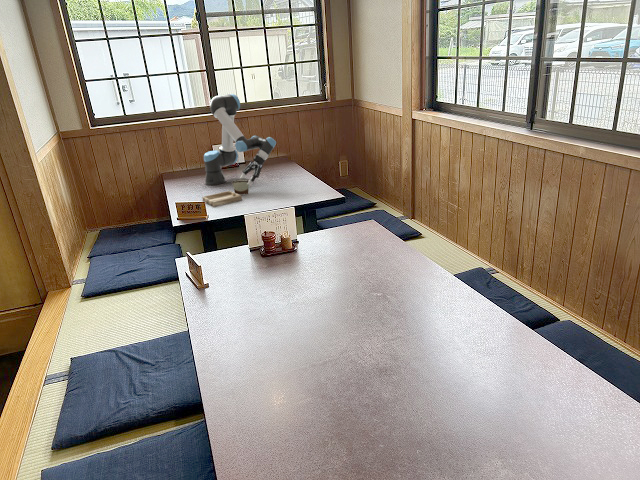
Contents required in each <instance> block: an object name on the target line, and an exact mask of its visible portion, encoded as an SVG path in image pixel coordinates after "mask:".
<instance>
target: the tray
mask: <svg viewBox="0 0 640 480" xmlns="http://www.w3.org/2000/svg"><path fill="white" fill-rule="evenodd" d="M242 197H243V196H242V195H239V194H236V193H235V192H234V191H231V190H227V191H223V192H217V193H214V194H209V195H205V196H202V197H201V198H202V202H203V201H205V202H206V203H205V202H204V203H205V204H208V205H209V206H211V207H213V208H215V207H219V206H223V205H226V204H227V205H228V204H232V203H235V202H239V201H242V200H243V198H242Z"/></svg>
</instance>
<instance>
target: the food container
mask: <svg viewBox="0 0 640 480" xmlns="http://www.w3.org/2000/svg"><path fill="white" fill-rule="evenodd" d="M239 178H240V177H239ZM239 178H235V179H233V180H231V184H232V187H233V192H234V193H236V194H239V195H241V196H242V195H243V194H245V195H249V191H250V190H249V189H250V186H249V185H248V184H247V183H248V182H249V180H250V179H248V178H247V177H245V178H240V179H239ZM243 196H244V195H243Z"/></svg>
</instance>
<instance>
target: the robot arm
mask: <svg viewBox="0 0 640 480" xmlns="http://www.w3.org/2000/svg"><path fill="white" fill-rule="evenodd" d="M240 109H241V101H240V98H239V97H238V96H237V95H236V94H233V93H227V94H222V95H215V96H213V97H212V98H211V100H210V102H209V110H210V113H211V114H212V116H213V117H214V118H215V119H217V120H218V121H219V123H220V124H221V146H219V150H210V151H209V150H208V151H207V152H205V153H204V155H203V161H204V169H205V178H204V184H205V185H208V186H216V185H220V184H224V183H226V178H225V175H224V173H223V171H222V168H224V167H227V166H232V165H234V164H236V163H237V161H238V159H239V153H243V152H248V151H251V150H257V149H258V151H257V153H256V154H255V156H254V157H253V161H250V162H249V164H247V165H246V166H245V168H243V170H241V171H242V174H241V176H240V177H239V178H238V179H240V178H247V177H246V176H247V174H249V173H250V172H252V171H253V174H252V176H251V177H250V179H248V180H249V182H248V183H247V184H248V185H249V187H252V185H253V183H254V181H255V180H256V179H258V178H259V177H260V174H261V172H262V171H261V170H262V168H263V165H264V164H265V162H266V160H267V159H268V158H269V156H270V155H271V153H272V151H273V150H274V149H275V146H276V145H277V141H276V139H274V138H273V137H270V136H267V137H266V138H263V137H261V136H258V135H252V136H251V137H250V138H246V137H245V135H244V134H243V133H242V131H241V130H240V129H239V127H238V126H237V124H236V123H235V116H236V115H238V114H237V111H239V110H240ZM234 142H235V146H234Z"/></svg>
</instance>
